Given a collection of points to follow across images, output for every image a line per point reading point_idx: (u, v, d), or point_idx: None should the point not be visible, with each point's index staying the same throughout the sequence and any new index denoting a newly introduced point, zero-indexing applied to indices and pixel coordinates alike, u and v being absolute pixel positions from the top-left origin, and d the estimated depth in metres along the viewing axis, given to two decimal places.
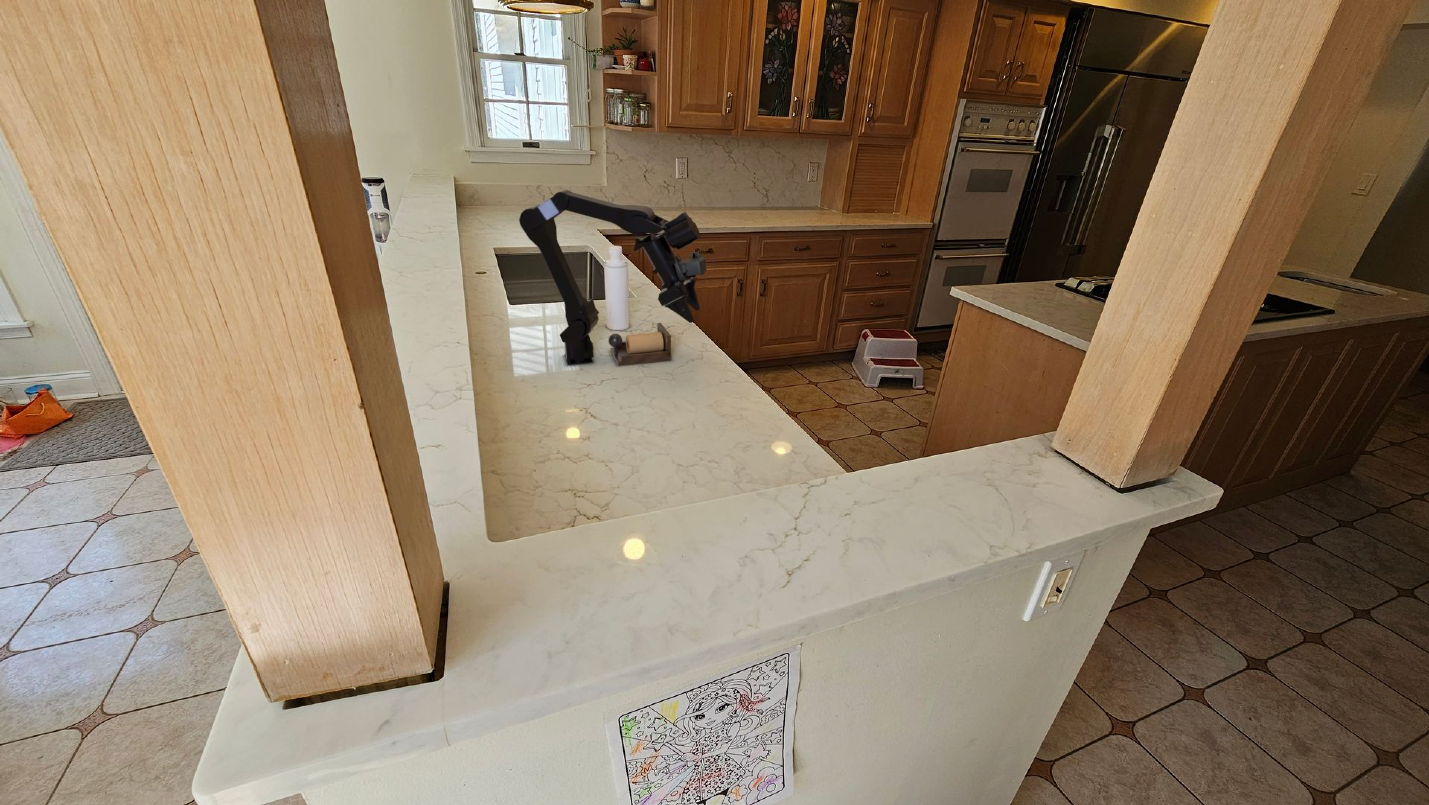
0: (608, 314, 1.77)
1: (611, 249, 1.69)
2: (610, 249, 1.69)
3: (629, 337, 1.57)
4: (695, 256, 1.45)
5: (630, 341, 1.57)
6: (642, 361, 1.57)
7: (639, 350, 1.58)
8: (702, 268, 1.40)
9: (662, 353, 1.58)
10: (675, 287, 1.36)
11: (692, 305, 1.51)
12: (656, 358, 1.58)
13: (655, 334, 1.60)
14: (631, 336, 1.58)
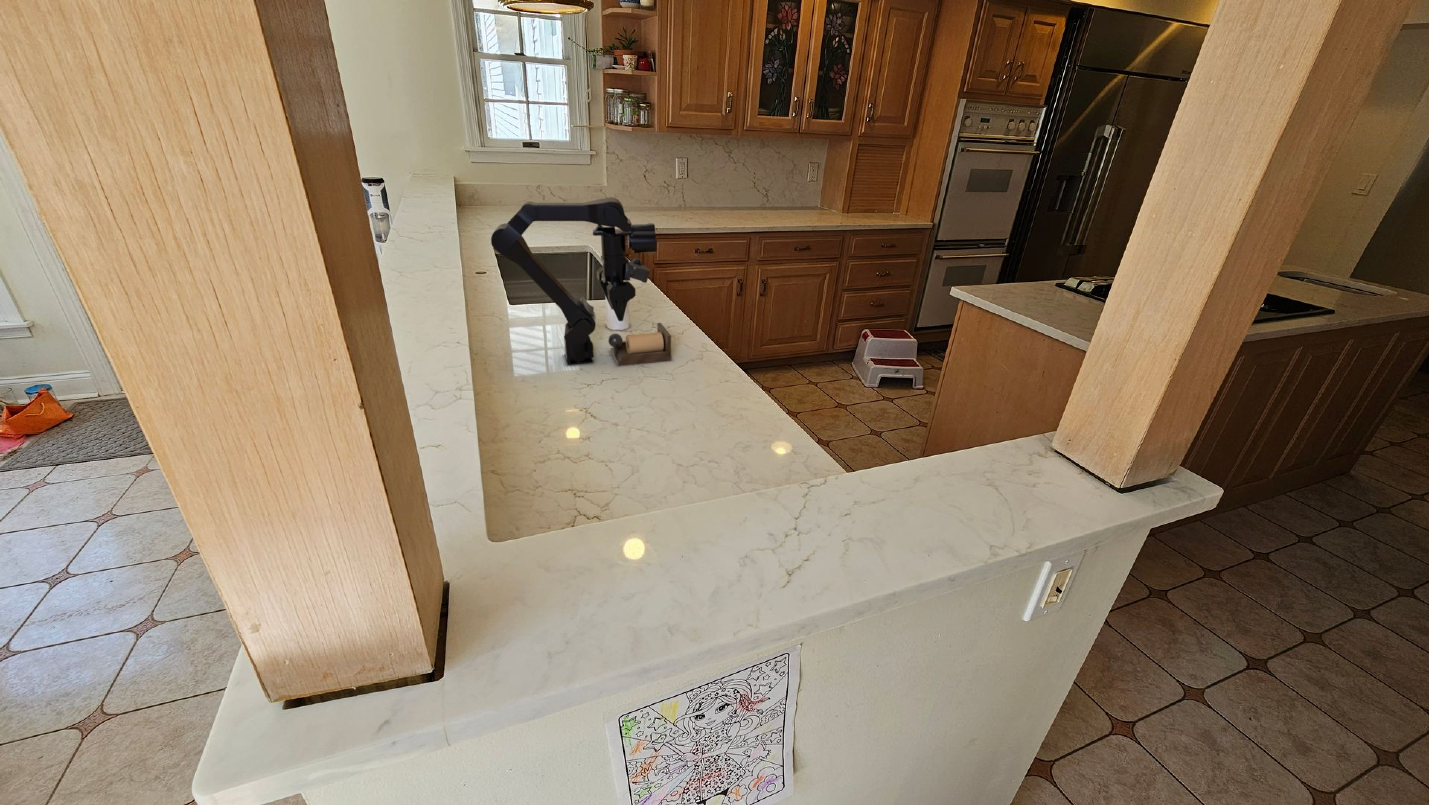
0: (608, 314, 1.77)
1: None
2: None
3: (629, 337, 1.57)
4: (636, 262, 1.54)
5: (630, 341, 1.57)
6: (642, 361, 1.57)
7: (639, 350, 1.58)
8: (647, 277, 1.50)
9: (662, 353, 1.58)
10: (631, 287, 1.43)
11: (610, 303, 1.57)
12: (656, 358, 1.58)
13: (655, 334, 1.59)
14: (631, 336, 1.57)
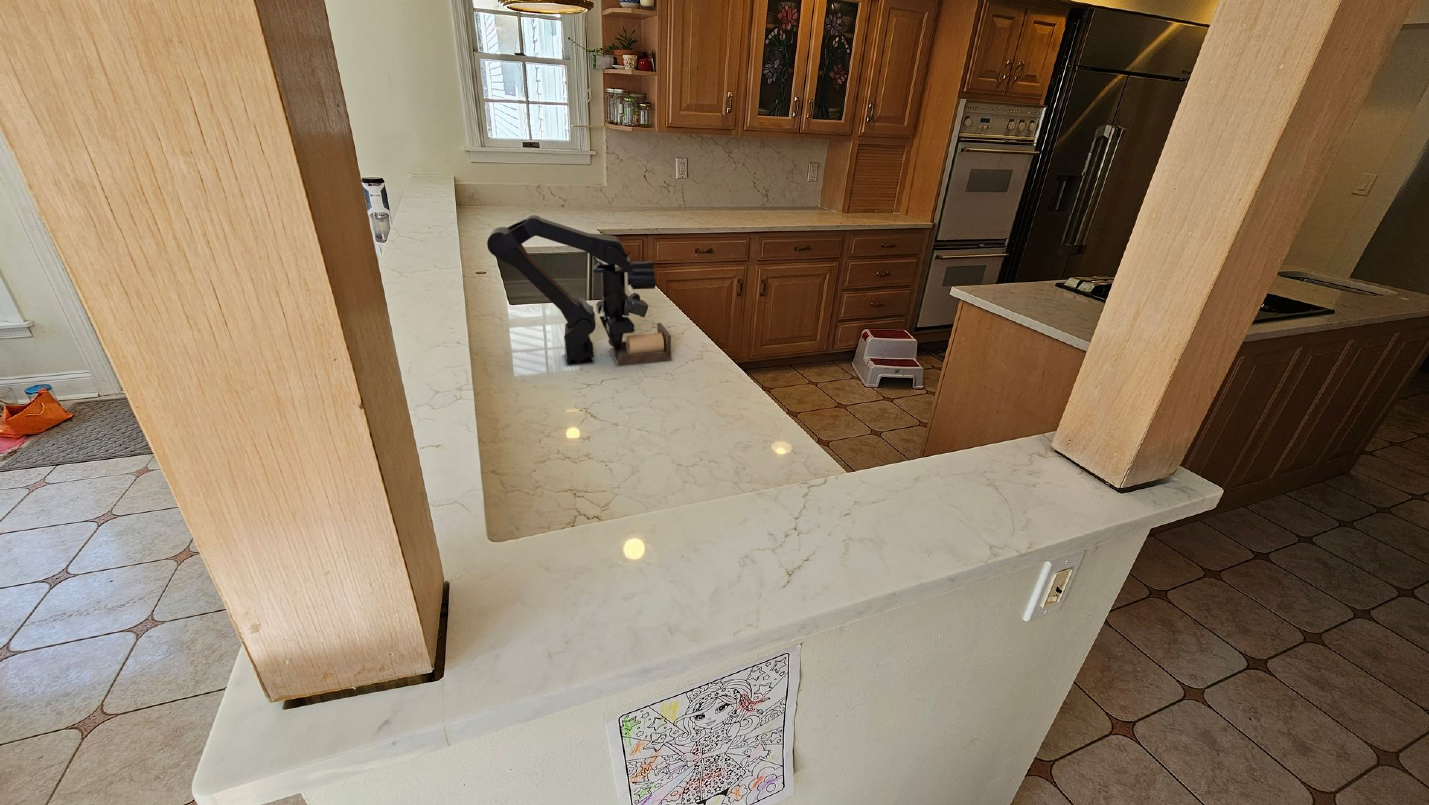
0: None
1: None
2: None
3: (630, 339, 1.57)
4: (634, 297, 1.58)
5: (631, 343, 1.56)
6: (642, 361, 1.57)
7: (639, 352, 1.58)
8: None
9: (662, 353, 1.58)
10: (630, 323, 1.47)
11: None
12: (656, 358, 1.58)
13: (656, 336, 1.59)
14: (632, 338, 1.57)
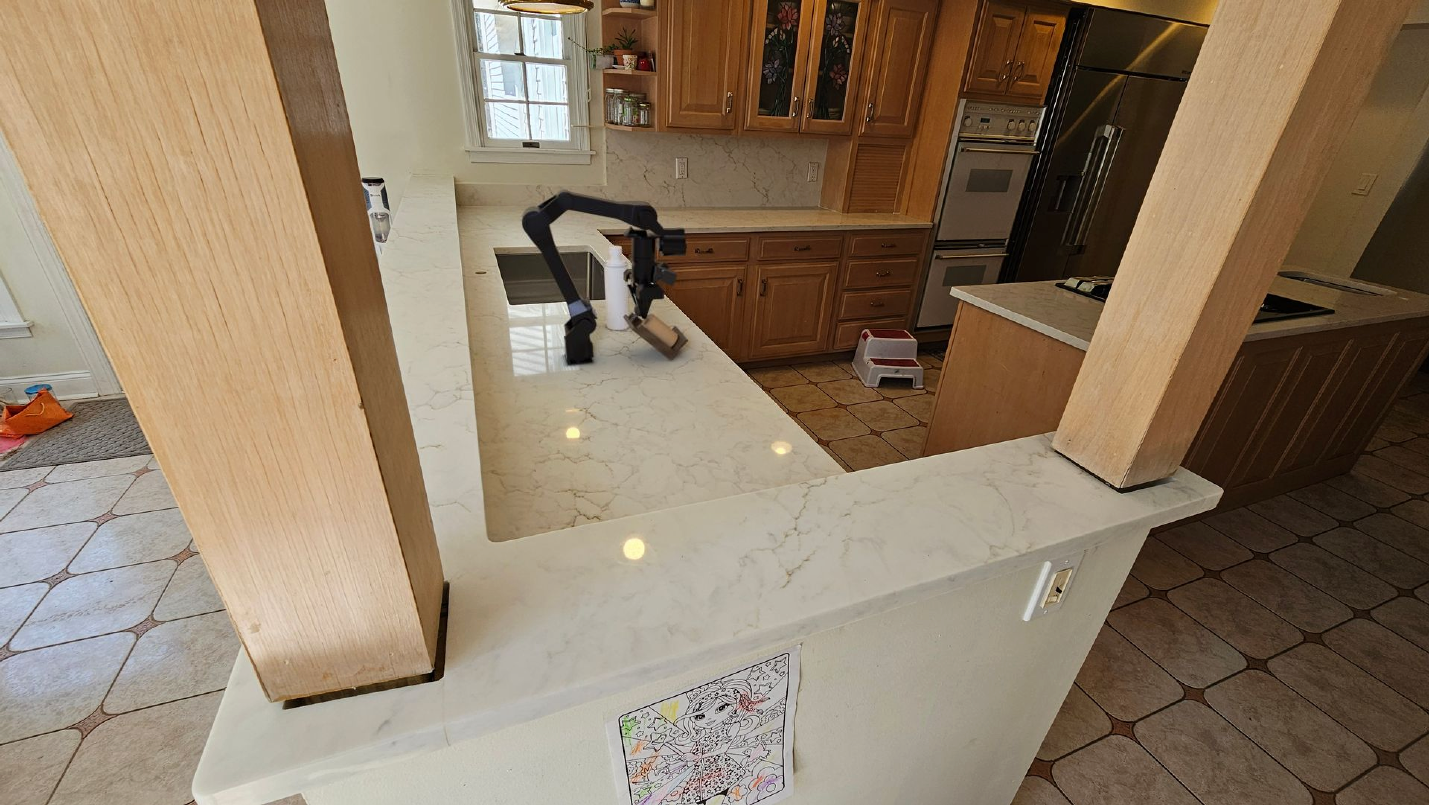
0: (608, 314, 1.77)
1: (611, 249, 1.69)
2: (610, 249, 1.69)
3: (654, 316, 1.57)
4: (663, 265, 1.57)
5: (653, 320, 1.56)
6: (651, 342, 1.55)
7: (653, 333, 1.57)
8: (674, 280, 1.53)
9: (670, 349, 1.58)
10: (660, 289, 1.46)
11: None
12: (662, 349, 1.57)
13: (673, 331, 1.61)
14: (655, 317, 1.57)
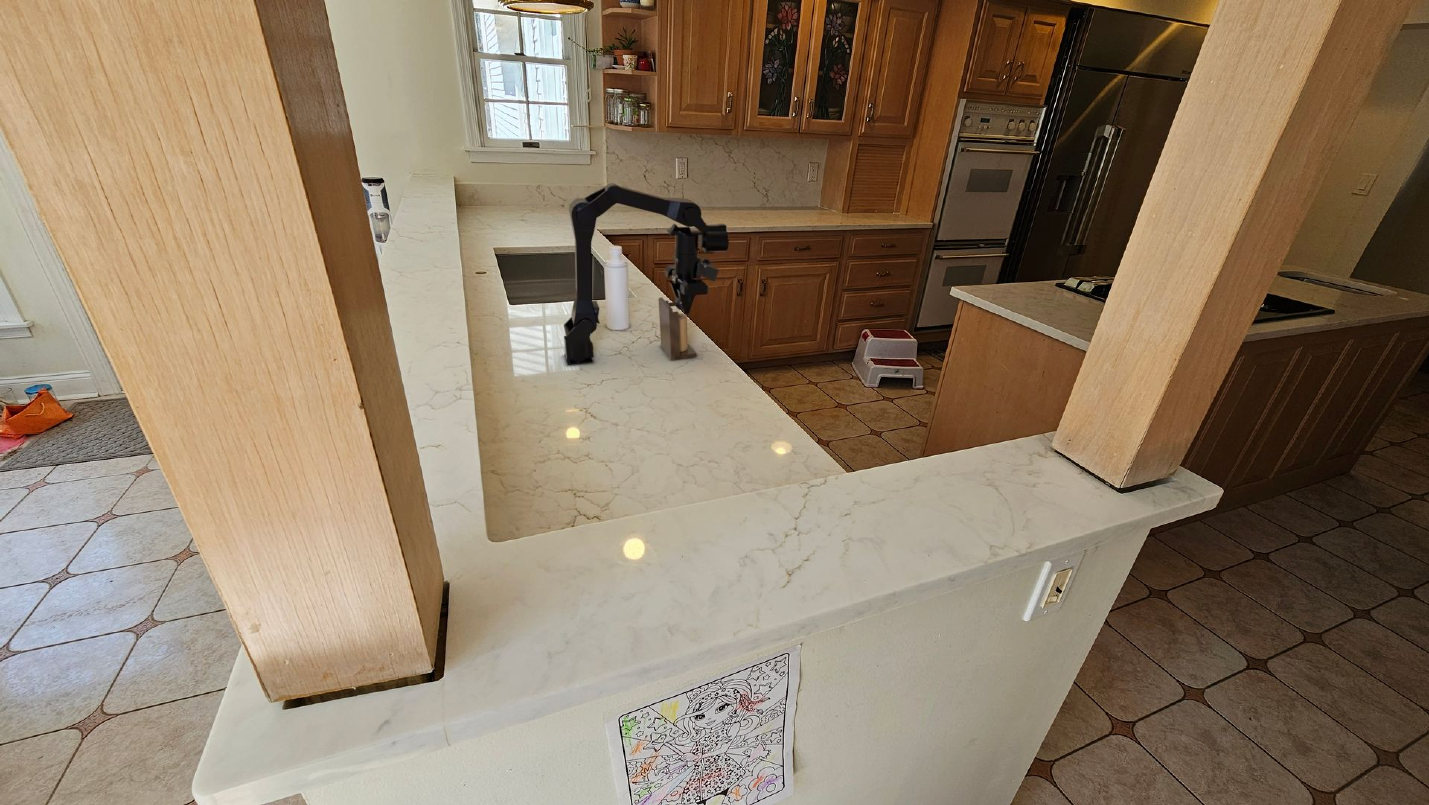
0: (608, 314, 1.77)
1: (611, 249, 1.69)
2: (610, 249, 1.69)
3: (686, 317, 1.60)
4: (704, 261, 1.60)
5: (684, 319, 1.59)
6: (671, 333, 1.56)
7: None
8: (716, 276, 1.57)
9: (678, 351, 1.59)
10: (704, 284, 1.49)
11: None
12: (673, 346, 1.58)
13: (687, 342, 1.63)
14: (686, 319, 1.61)
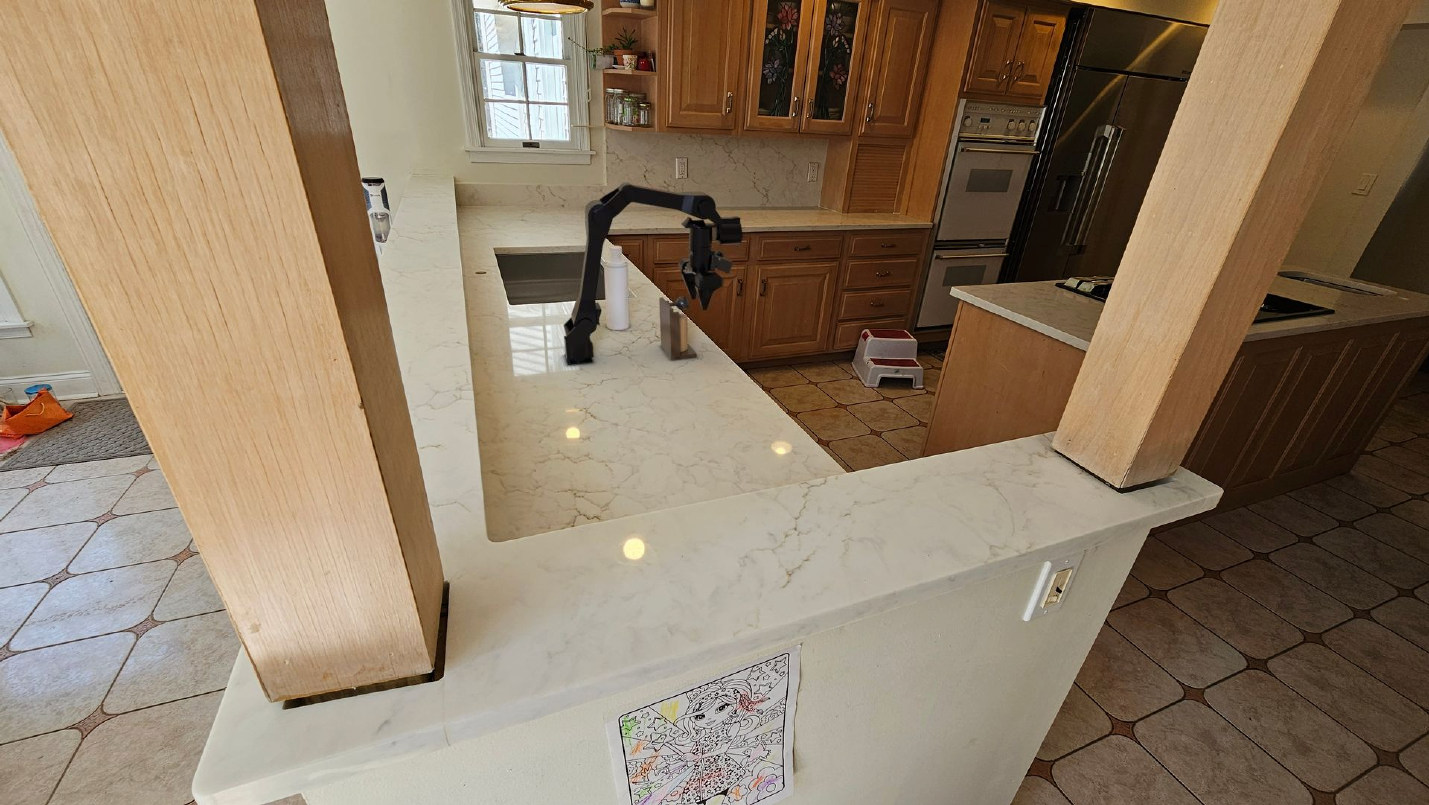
0: (608, 314, 1.77)
1: (611, 249, 1.69)
2: (610, 249, 1.69)
3: None
4: (717, 254, 1.60)
5: (685, 319, 1.59)
6: (672, 333, 1.56)
7: None
8: (730, 268, 1.57)
9: (678, 351, 1.59)
10: (719, 277, 1.49)
11: (691, 293, 1.63)
12: (673, 346, 1.58)
13: (687, 342, 1.64)
14: None
